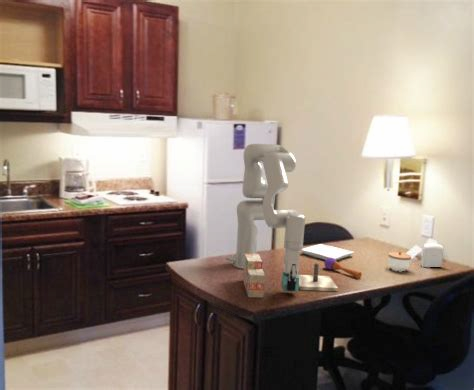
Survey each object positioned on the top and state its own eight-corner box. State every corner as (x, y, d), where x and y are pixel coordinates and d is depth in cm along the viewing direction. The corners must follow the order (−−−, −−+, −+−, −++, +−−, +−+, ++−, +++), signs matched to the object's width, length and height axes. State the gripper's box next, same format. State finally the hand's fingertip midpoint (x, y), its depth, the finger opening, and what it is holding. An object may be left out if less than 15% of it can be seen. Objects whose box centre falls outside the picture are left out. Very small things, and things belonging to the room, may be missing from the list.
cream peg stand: (299, 289, 209) (301, 267, 207) (293, 277, 224) (295, 257, 223) (337, 291, 209) (339, 269, 208) (329, 279, 225) (330, 258, 224)
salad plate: (354, 257, 267) (355, 251, 267) (334, 264, 251) (334, 257, 251) (320, 249, 281) (320, 243, 280) (299, 255, 265) (299, 249, 265)
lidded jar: (382, 266, 251) (384, 248, 249) (402, 266, 253) (404, 248, 252) (393, 273, 240) (395, 254, 239) (413, 273, 243) (415, 254, 241)
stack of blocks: (263, 298, 197) (265, 267, 195) (247, 297, 196) (249, 267, 194) (257, 280, 218) (258, 253, 216) (242, 280, 217) (244, 252, 215)
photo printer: (422, 267, 254) (425, 244, 252) (419, 265, 258) (422, 242, 256) (442, 268, 253) (445, 245, 252) (439, 266, 258) (442, 243, 256)
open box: (283, 291, 200) (284, 276, 199) (281, 285, 205) (282, 271, 205) (298, 291, 200) (299, 277, 199) (295, 286, 206) (297, 272, 205)
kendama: (355, 271, 226) (321, 257, 241) (355, 283, 228) (321, 269, 243) (363, 267, 229) (329, 254, 244) (363, 279, 231) (329, 265, 246)
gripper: (281, 238, 208) (278, 279, 211) (287, 249, 191) (283, 294, 194) (299, 239, 208) (295, 280, 211) (306, 250, 191) (302, 295, 194)
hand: (289, 286), depth 203 cm, fingers closed on open box, 5 cm apart
